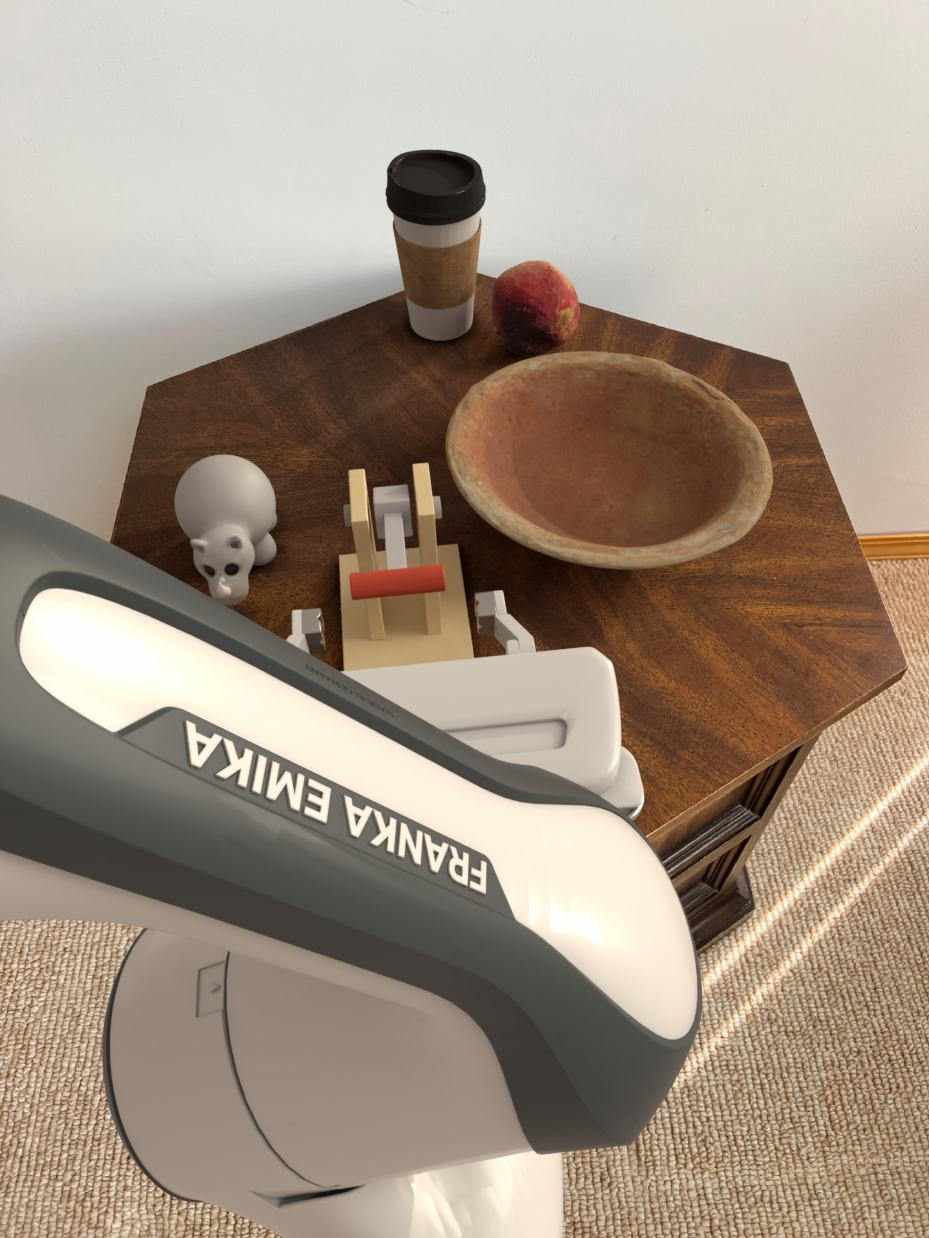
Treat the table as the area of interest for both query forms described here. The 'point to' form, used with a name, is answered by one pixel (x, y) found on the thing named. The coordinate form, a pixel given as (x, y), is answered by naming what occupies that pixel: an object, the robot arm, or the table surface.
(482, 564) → the table surface
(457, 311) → the coffee cup
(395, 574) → the lever
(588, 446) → the bowl
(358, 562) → the wooden lever stand
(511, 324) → the fruit
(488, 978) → the robot arm
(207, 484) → the chubby cartoon animal
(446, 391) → the table surface
